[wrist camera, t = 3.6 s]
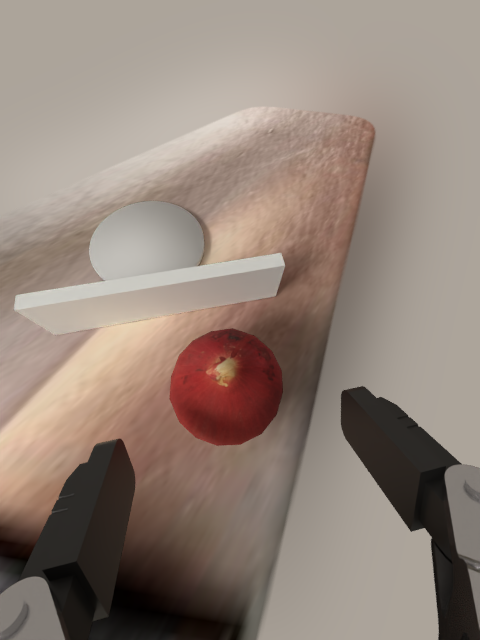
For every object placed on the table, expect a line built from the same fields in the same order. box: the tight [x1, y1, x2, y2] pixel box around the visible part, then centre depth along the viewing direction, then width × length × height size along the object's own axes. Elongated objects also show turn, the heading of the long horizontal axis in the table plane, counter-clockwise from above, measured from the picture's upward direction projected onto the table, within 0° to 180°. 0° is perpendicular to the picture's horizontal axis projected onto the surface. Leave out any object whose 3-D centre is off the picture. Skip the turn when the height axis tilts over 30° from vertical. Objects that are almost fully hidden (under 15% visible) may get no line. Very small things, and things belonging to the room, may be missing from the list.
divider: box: [14, 253, 285, 335], centre depth 18 cm, size 16×1×4 cm, turn 102°
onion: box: [170, 328, 283, 446], centre depth 14 cm, size 6×6×8 cm
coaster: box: [89, 201, 205, 281], centre depth 22 cm, size 9×9×1 cm
